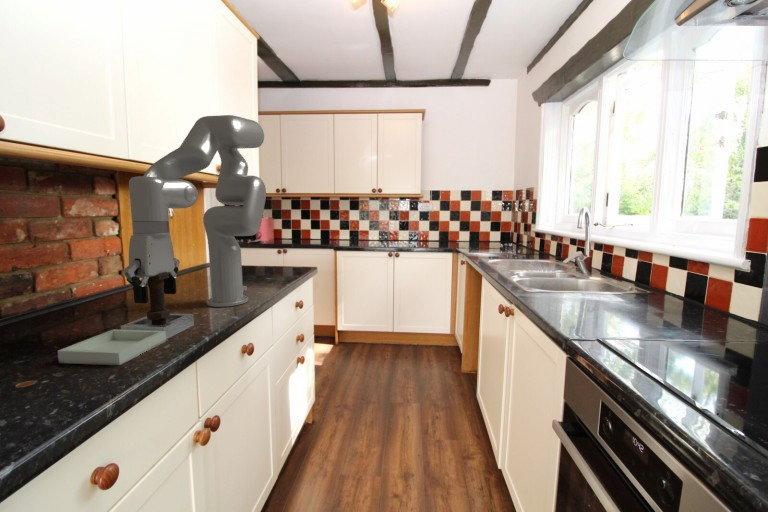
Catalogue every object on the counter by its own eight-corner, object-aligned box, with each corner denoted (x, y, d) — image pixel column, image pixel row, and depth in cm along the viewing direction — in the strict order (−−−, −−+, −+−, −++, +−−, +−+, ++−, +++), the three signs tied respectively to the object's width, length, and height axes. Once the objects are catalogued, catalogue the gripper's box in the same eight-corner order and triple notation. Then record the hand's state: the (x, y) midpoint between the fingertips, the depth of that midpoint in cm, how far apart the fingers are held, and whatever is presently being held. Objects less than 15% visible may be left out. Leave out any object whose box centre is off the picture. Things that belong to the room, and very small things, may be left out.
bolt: (158, 335, 86) (153, 274, 84) (141, 334, 87) (136, 274, 85) (177, 328, 92) (173, 270, 90) (160, 327, 93) (156, 270, 91)
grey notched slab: (155, 323, 95) (154, 313, 95) (194, 325, 94) (193, 314, 94) (121, 338, 84) (120, 326, 84) (165, 339, 83) (164, 327, 83)
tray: (114, 339, 83) (113, 329, 83) (166, 341, 82) (165, 330, 82) (58, 362, 70) (57, 350, 70) (119, 365, 69) (118, 352, 69)
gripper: (162, 227, 95) (166, 290, 97) (106, 230, 78) (113, 306, 80) (188, 227, 94) (192, 291, 96) (138, 230, 77) (144, 307, 79)
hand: (156, 298), depth 88 cm, fingers open, 9 cm apart
